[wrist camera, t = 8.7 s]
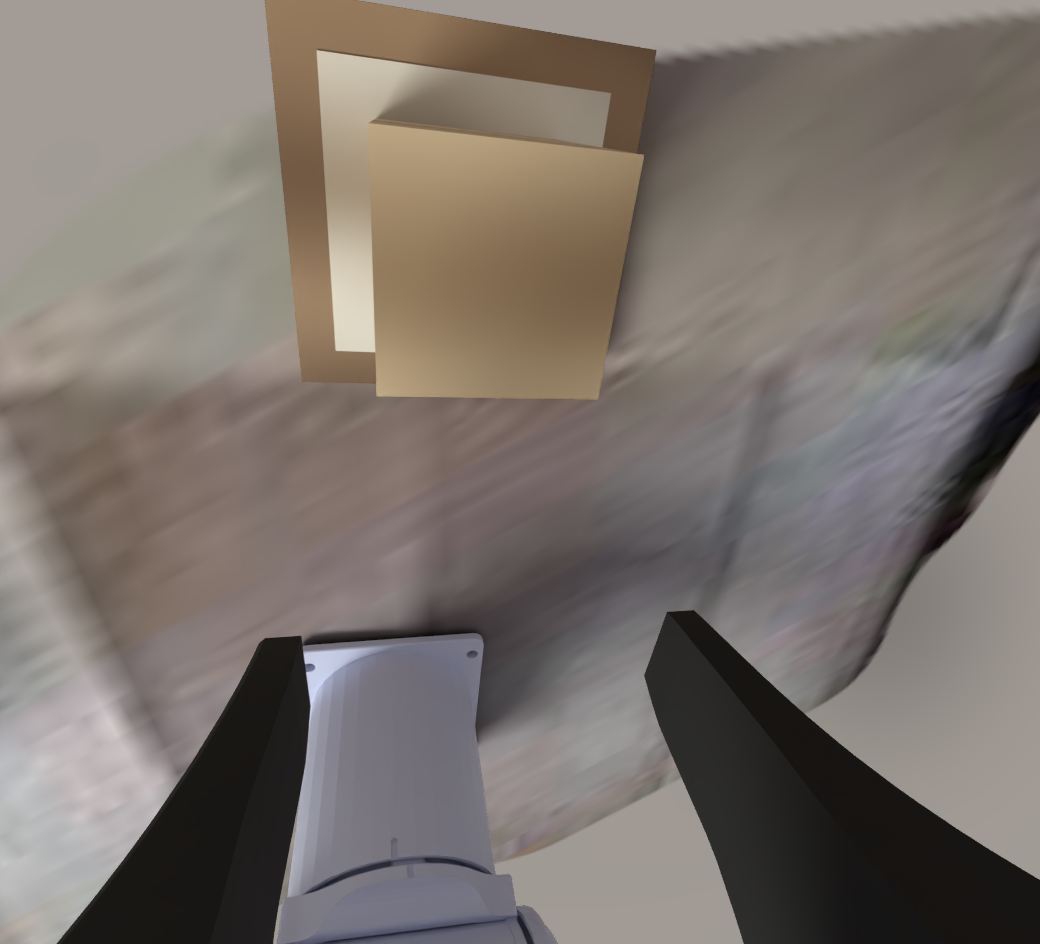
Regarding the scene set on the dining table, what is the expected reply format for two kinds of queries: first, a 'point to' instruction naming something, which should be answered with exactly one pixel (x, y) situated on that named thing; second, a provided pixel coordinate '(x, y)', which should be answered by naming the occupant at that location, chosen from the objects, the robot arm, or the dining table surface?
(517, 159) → the oak block
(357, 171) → the picture frame
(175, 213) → the dining table surface
